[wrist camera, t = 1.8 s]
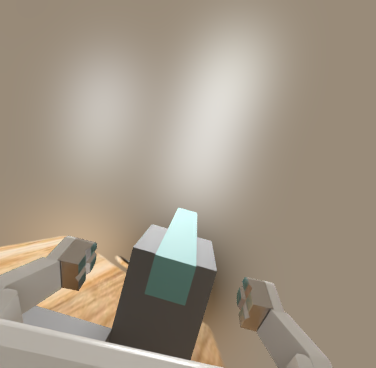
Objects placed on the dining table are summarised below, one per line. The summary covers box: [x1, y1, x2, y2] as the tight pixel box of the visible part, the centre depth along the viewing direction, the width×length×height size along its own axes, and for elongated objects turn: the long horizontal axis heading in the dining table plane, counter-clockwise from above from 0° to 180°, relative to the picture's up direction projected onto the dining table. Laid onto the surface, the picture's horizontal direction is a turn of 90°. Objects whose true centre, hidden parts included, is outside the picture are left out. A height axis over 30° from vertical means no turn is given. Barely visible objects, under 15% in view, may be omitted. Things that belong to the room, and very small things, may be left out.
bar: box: [145, 208, 197, 306], centre depth 32 cm, size 24×4×4 cm, turn 177°
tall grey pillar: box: [22, 224, 217, 360], centre depth 29 cm, size 26×25×29 cm
